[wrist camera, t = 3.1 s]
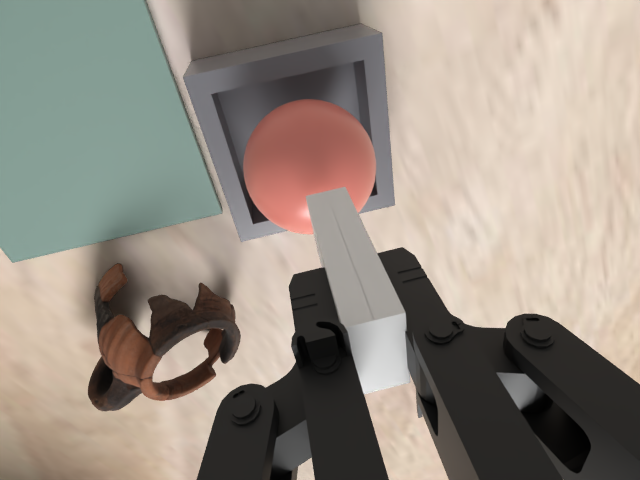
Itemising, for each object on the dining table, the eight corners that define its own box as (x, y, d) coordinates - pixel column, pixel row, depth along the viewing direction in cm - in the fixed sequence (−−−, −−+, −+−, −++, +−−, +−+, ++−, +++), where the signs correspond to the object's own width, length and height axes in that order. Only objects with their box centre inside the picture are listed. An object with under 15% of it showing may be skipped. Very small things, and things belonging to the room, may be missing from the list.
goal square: (15, 258, 27) (12, 262, 26) (-186, 0, 18) (-196, 0, 18) (222, 209, 27) (222, 213, 27) (122, -64, 19) (119, -64, 18)
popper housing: (240, 209, 27) (241, 241, 24) (191, 61, 22) (182, 77, 19) (376, 177, 28) (394, 205, 25) (361, 23, 22) (382, 32, 19)
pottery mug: (127, 223, 27) (180, 301, 23) (222, 258, 35) (275, 321, 31) (30, 357, 28) (61, 457, 24) (143, 361, 36) (183, 437, 32)
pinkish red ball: (259, 207, 24) (265, 274, 19) (227, 100, 20) (223, 145, 15) (363, 182, 24) (398, 242, 19) (350, 72, 20) (388, 107, 15)
